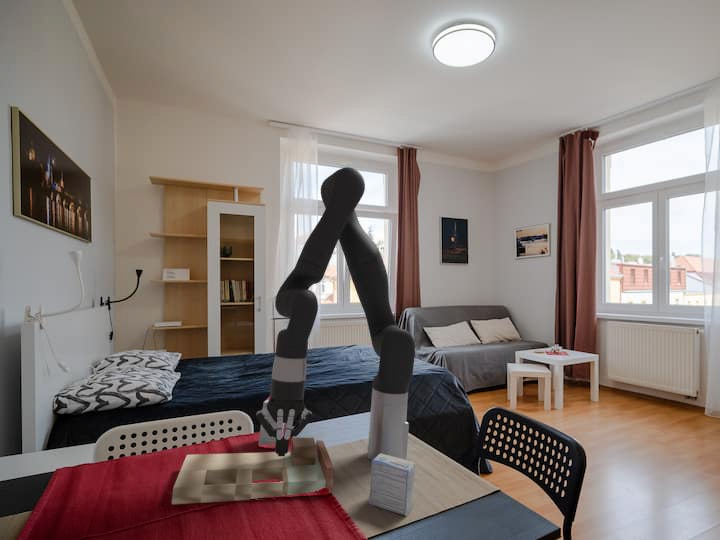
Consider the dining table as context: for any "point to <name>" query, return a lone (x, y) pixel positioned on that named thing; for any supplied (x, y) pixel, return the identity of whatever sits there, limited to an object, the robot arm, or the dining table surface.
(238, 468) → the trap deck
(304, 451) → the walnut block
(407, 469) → the medicine box
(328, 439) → the dining table surface
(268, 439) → the supplement box
